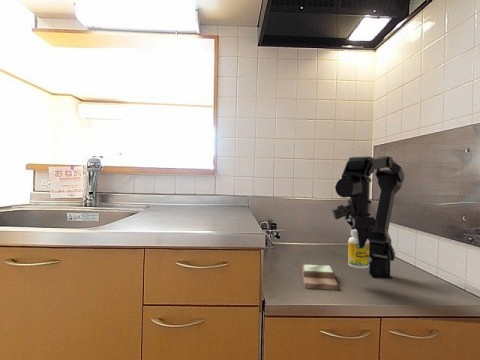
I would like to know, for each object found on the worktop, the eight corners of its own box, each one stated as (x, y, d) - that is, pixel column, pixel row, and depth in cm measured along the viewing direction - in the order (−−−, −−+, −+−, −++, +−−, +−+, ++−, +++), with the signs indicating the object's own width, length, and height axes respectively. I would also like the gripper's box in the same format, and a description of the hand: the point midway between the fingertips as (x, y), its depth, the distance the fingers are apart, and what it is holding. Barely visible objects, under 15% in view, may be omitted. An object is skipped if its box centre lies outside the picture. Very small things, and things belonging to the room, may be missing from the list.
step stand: (330, 274, 118) (330, 265, 118) (337, 289, 102) (338, 279, 102) (302, 273, 119) (302, 264, 119) (304, 287, 104) (304, 277, 103)
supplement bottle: (361, 263, 110) (362, 228, 110) (373, 268, 104) (374, 231, 104) (344, 263, 109) (344, 229, 108) (355, 269, 102) (355, 232, 102)
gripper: (329, 194, 116) (328, 239, 116) (338, 197, 98) (337, 250, 98) (362, 195, 115) (362, 240, 115) (377, 198, 96) (377, 252, 96)
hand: (358, 245), depth 106 cm, fingers closed on supplement bottle, 6 cm apart
